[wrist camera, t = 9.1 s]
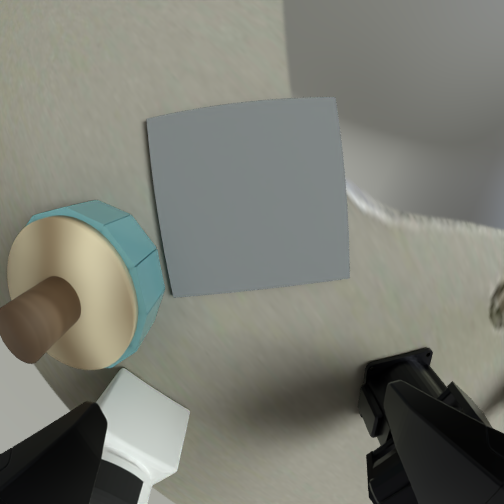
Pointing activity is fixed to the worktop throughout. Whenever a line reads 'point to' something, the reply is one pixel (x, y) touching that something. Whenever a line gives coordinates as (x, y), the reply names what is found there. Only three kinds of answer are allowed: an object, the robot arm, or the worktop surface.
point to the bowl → (125, 258)
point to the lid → (68, 296)
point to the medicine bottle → (137, 440)
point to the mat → (251, 195)
